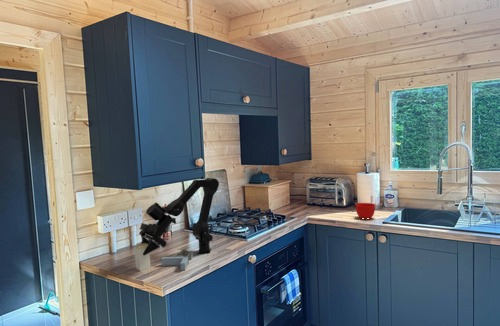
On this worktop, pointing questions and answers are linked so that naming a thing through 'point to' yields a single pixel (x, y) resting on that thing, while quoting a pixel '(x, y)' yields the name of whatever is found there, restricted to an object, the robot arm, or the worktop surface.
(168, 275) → the worktop surface
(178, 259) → the corner fence
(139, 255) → the tea tin
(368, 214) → the ceramic cup
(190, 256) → the egg carton
